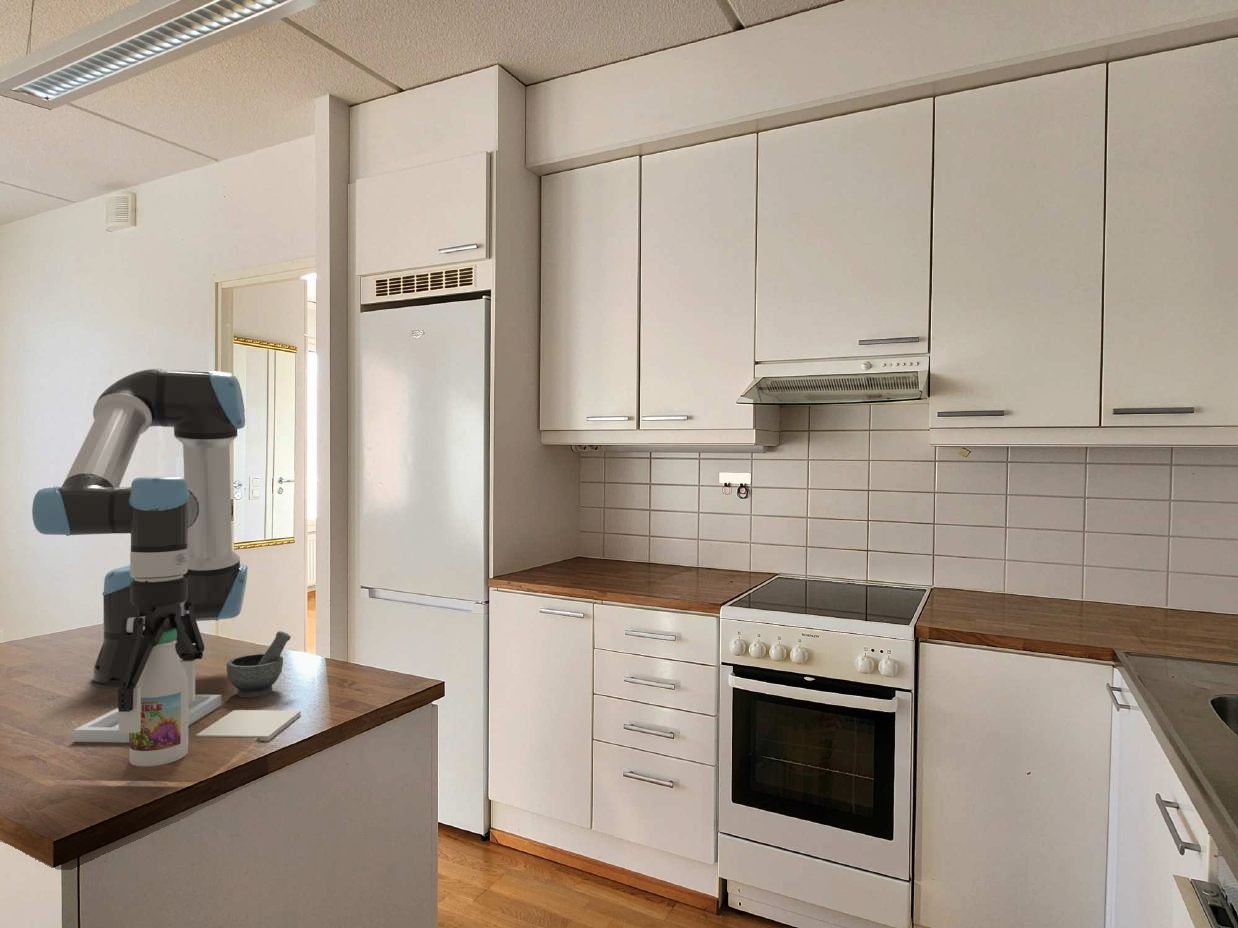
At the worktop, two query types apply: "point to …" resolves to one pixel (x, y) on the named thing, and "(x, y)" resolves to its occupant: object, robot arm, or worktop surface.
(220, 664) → the worktop surface
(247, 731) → the pad
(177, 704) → the milk bottle
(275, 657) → the mortar and pestle
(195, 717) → the tray
